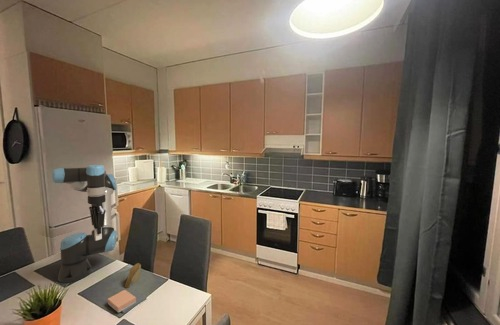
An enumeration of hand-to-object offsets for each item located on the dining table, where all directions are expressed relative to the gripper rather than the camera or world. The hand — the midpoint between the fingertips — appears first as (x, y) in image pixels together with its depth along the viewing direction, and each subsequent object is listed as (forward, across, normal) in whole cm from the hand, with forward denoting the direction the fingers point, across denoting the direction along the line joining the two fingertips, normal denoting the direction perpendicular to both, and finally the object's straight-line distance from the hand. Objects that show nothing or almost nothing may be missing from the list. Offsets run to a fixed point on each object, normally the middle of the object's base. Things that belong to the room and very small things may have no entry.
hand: (98, 239), depth 113 cm
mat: (+26, +24, +3) cm, 35 cm away
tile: (+24, +17, 0) cm, 30 cm away
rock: (+27, +9, +12) cm, 31 cm away
